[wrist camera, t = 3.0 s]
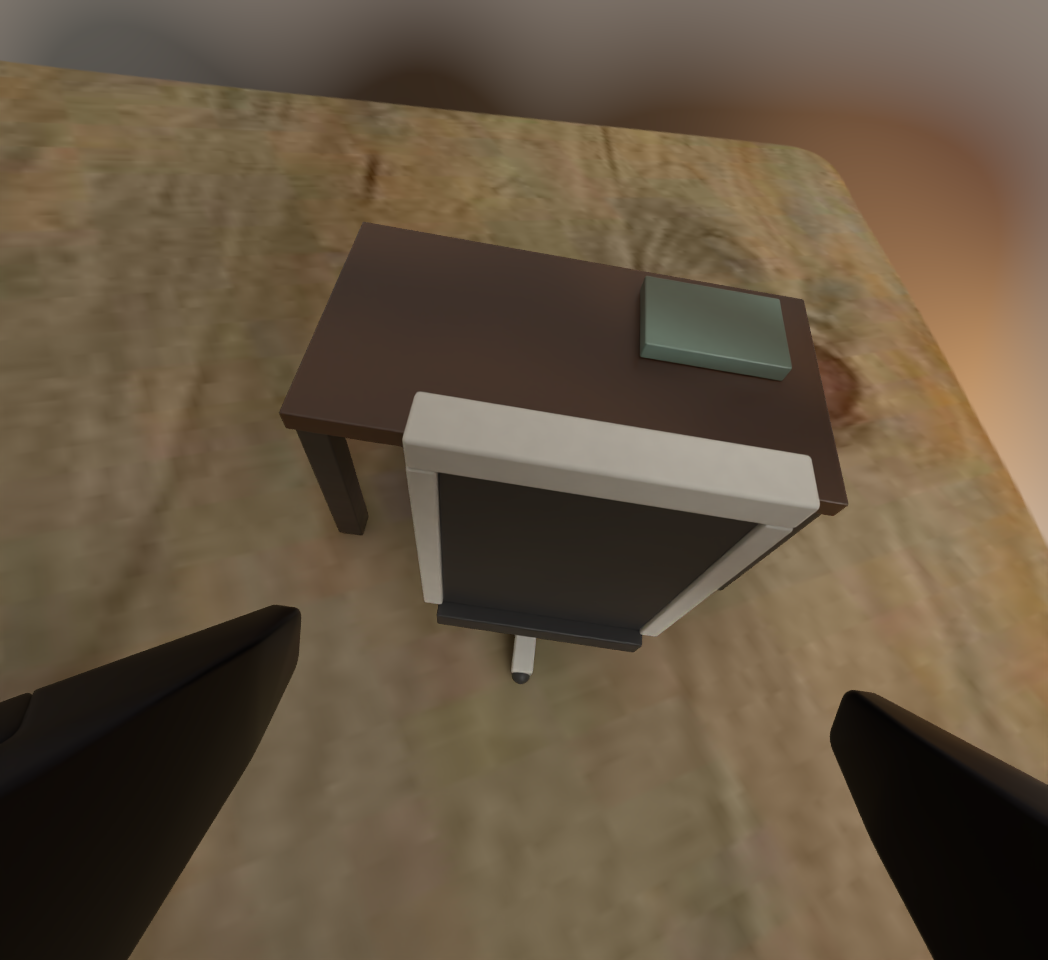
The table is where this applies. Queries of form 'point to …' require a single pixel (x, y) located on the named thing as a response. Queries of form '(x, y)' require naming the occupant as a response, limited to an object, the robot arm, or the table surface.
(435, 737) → the table surface
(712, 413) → the desk
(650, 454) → the white black boxy frame
